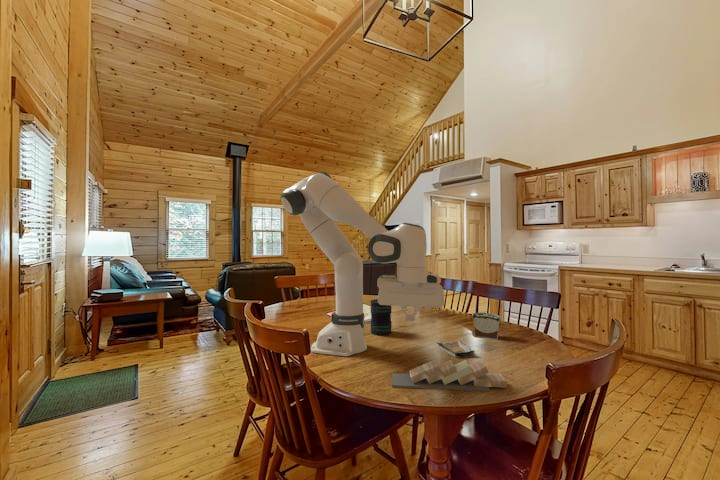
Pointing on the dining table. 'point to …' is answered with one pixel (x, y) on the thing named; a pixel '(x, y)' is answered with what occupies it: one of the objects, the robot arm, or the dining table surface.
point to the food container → (486, 325)
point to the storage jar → (380, 318)
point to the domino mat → (432, 384)
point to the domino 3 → (474, 372)
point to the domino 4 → (490, 380)
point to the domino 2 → (442, 371)
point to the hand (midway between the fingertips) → (409, 320)
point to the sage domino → (458, 372)
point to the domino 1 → (424, 371)
